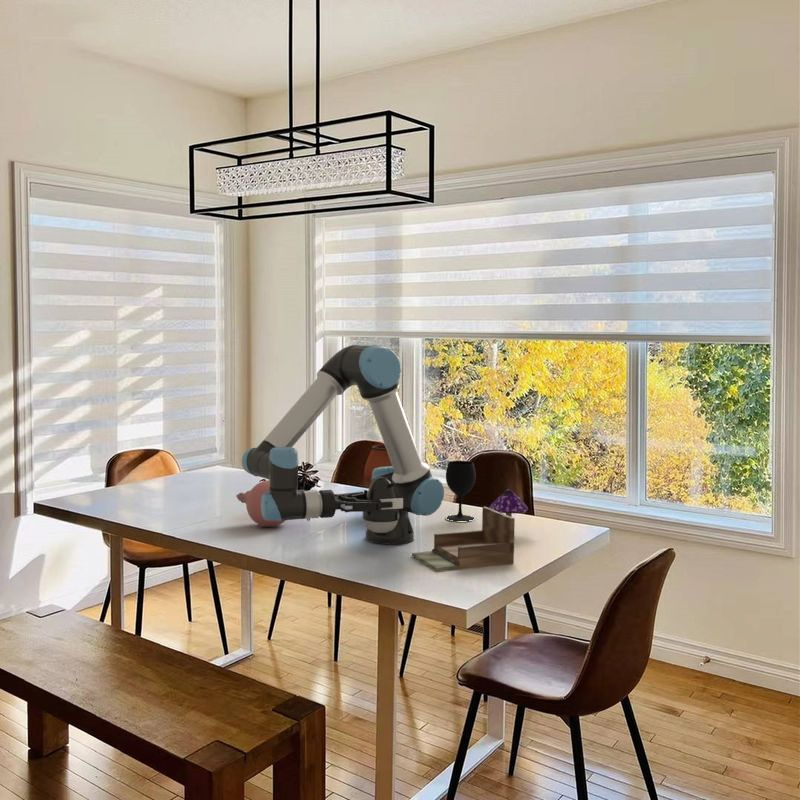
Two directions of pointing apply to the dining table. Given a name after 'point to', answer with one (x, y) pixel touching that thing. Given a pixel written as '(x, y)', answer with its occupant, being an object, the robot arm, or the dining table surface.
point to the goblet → (376, 461)
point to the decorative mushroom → (509, 504)
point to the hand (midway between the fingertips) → (396, 499)
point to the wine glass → (460, 483)
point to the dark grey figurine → (387, 517)
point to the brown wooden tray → (473, 545)
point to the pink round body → (257, 503)
